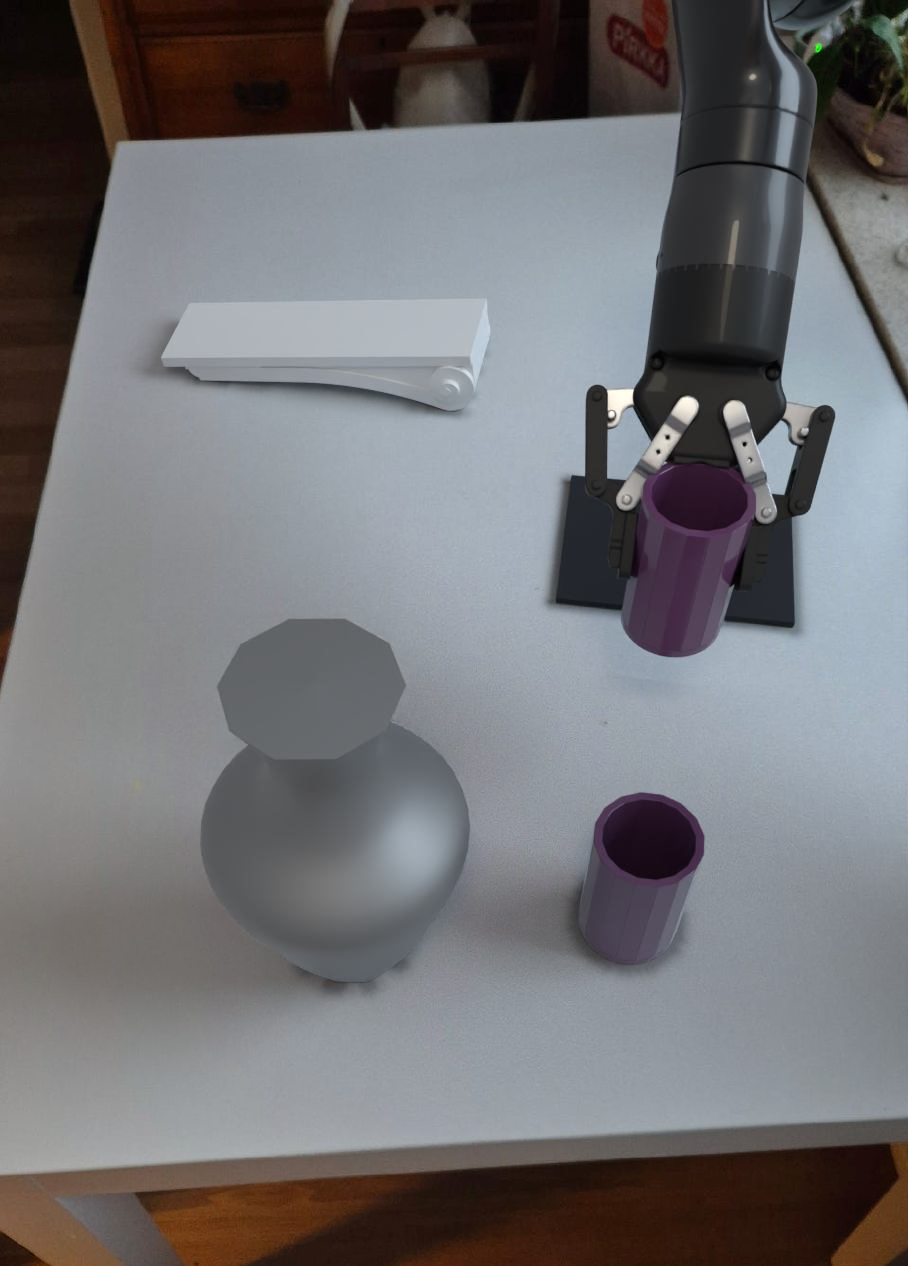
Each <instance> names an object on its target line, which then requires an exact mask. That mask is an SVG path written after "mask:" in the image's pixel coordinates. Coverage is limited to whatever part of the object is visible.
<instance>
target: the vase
mask: <svg viewBox="0 0 908 1266" xmlns="http://www.w3.org/2000/svg"><path fill="white" fill-rule="evenodd" d="M406 687H407V684H406V682H405V679H404V677H403V674H402V672H401V669H400V667H399V663H398V661H397V659H396V657H395V653H394V651H393V649H392V647H391V644H390V643H389V642H388V641H387V640H384V639H383V638H381V637H379V636H377V635H376V634H374V633H371V632H370V631H368V630H366V629H365V628H362V627H361V626H360V625H358V624H356V623H354V622H352V621H350V620H348V619H347V618H288V619H286V620H284V621H282V622H280V623H278V624H276V625H274V626H273V627H270V628H269V629H267V630H265V631H263V632H260V633H259V634H256V635H255V636H253V637H251V638H250V639H247V640H245V641H244V642H242V643H240V644H239V646H238V648H237V649H236V651H235V653H234V655H233V657H232V658H231V660H230V662H229V664H228V666H227V667H226V669H225V671H224V673H223V675H222V676H221V678H220V680H219V682H218V683H217V686H216V688H217V689H216V690H217V692H218V696H219V699H220V703H221V706H222V707H221V708H222V711H223V713H224V714H223V715H224V719H225V721H226V725H227V728H228V732H230V733H231V734H233V735H234V736H235V737H236V738H238V739H239V740H240V741H242V742H243V743H244V744H246V746H245V747H244V748H242V749H240V751H239V752H237V753H236V755H234V757H232V759H231V760H230V761H229V762H228V764H227V765H226V766H225V767H224V769H222V771H221V772H220V775H218V777H217V779H216V780H215V782H214V784H213V785H212V787H211V789H210V791H209V794H208V797H207V799H206V801H205V803H204V808H203V812H202V817H201V819H200V837H199V838H200V840H199V848H200V853H201V861H202V862H201V863H202V865H203V868H204V871H205V874H206V876H207V879H208V883H209V885H210V888H212V890H213V892H214V894H215V896H216V898H217V899H218V902H219V903H220V904H221V906H222V907H223V908H224V910H226V911H227V913H229V915H230V916H231V918H233V919H234V921H236V923H237V924H238V925H239V926H240V927H242V928H243V929H244V930H245V931H246V932H248V933H249V934H250V935H251V936H253V938H255V939H256V940H257V941H259V942H260V943H261V944H263V945H264V946H265V947H267V948H269V949H270V950H271V951H273V952H274V953H276V954H277V955H279V956H280V957H282V958H283V959H284V960H287V961H288V962H290V963H291V964H293V965H295V966H297V967H298V968H301V970H304V971H306V972H308V973H311V974H313V975H315V976H319V977H320V978H323V979H328V980H331V981H332V982H334V983H369V982H371V981H373V980H374V979H376V978H377V977H379V976H380V975H382V974H383V973H385V972H387V971H389V970H391V968H393V967H394V966H395V965H397V964H398V963H399V962H401V961H402V960H403V959H405V957H406V956H407V955H408V954H410V952H411V951H412V950H413V949H414V948H415V947H417V945H418V944H419V943H420V942H421V940H422V939H423V938H424V937H425V935H426V934H427V932H428V930H429V929H430V927H431V926H432V925H433V923H434V922H435V921H436V919H437V918H438V916H439V915H440V913H441V911H442V910H443V908H444V907H445V906H446V904H447V903H448V901H449V900H450V898H451V896H452V895H453V892H454V890H455V888H456V886H457V884H458V882H459V880H460V877H461V875H462V873H463V870H464V867H465V863H466V860H467V855H468V852H469V848H470V847H469V844H470V834H471V833H470V832H471V822H470V813H469V807H468V803H467V799H466V797H465V793H464V790H463V788H462V785H461V783H460V781H459V779H458V778H457V775H456V773H455V772H454V770H453V769H452V767H451V766H450V764H449V763H448V761H446V759H445V757H444V756H443V755H442V754H441V753H440V752H439V751H438V750H436V749H435V748H434V747H433V746H432V745H431V744H430V743H428V742H427V741H426V740H425V739H423V738H421V737H420V736H418V734H416V733H414V732H413V731H412V730H409V729H407V728H405V727H404V726H401V725H399V724H397V723H395V722H393V721H392V718H393V716H394V714H395V712H396V710H397V707H398V705H399V703H400V701H401V698H402V696H403V693H404V692H405V689H406Z"/></svg>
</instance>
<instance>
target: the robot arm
mask: <svg viewBox="0 0 908 1266" xmlns="http://www.w3.org/2000/svg"><path fill="white" fill-rule="evenodd" d="M856 1H857V0H671V10H672V20H673V27H674V35H675V46H676V57H677V67H678V74H679V79H680V88H681V98H682V104H681V113H680V119H679V120H680V121H679V130H678V135H677V136H678V137H677V143H676V150H675V151H676V152H675V159H674V168H673V175H672V183H671V189H670V194H669V197H668V198H669V199H668V203H667V206H666V209H665V214H664V217H663V222H662V228H661V234H660V242H659V250H658V252H657V255H656V258H655V270H656V273H655V281H654V282H655V283H654V290H653V298H652V305H651V314H650V322H649V329H648V337H647V338H648V339H647V346H646V352H645V362H644V363H645V364H644V368H643V373H642V375H641V377H640V378H639V380H638V381H637V383H636V384H635V386H634V387H631V388H630V387H629V388H627V387H625V388H606V387H605V386H604V385H602V384H594V385H592V386H590V387H589V388H588V389H587V391H586V394H585V406H584V407H585V409H584V410H585V411H584V412H585V417H584V418H585V421H584V423H585V424H584V426H585V427H584V428H585V429H584V444H585V445H584V459H585V460H584V476H585V491H586V493H587V495H588V496H590V497H592V498H595V499H597V500H599V501H601V502H603V503H605V504H607V505H608V506H609V507H610V509H611V511H612V515H613V518H612V526H611V534H610V542H609V550H608V562H609V566H610V567H612V568H618V573H617V579H625V580H630V578H631V571H632V563H633V555H634V548H635V540H636V530H637V522H638V514H636V513H635V512H636V504H637V503H638V501H639V500H640V498H641V494H642V489H643V484H644V482H645V481H646V480H647V478H648V477H649V475H650V474H652V475H654V476H656V474H657V473H658V471H659V470H660V468H661V467H662V465H664V464H665V463H668V462H670V461H671V462H673V463H676V464H693V463H699V462H702V463H705V464H708V465H710V466H713V467H720V468H729V467H731V468H733V469H735V470H736V471H737V472H738V473H740V474H741V476H742V478H743V480H744V482H745V484H750V485H751V487H752V488H753V490H754V492H755V493H756V512H755V515H754V519H753V522H752V526H751V529H750V532H749V536H748V539H747V543H746V546H745V549H744V553H743V556H742V560H741V563H740V566H739V570H738V573H737V577H736V580H735V583H734V591H741V592H750V591H751V588H752V583H753V582H759V583H760V582H761V581H762V579H763V577H764V575H765V573H766V566H767V559H768V553H769V546H770V540H771V533H772V529H773V527H774V525H775V524H776V523H777V522H779V521H781V520H783V519H787V518H791V517H792V518H794V517H800V516H804V515H806V514H808V512H809V511H810V510H811V507H812V504H813V500H814V498H815V494H816V490H817V486H818V482H819V480H820V479H819V478H820V476H821V475H820V474H821V472H822V469H823V465H824V462H825V461H824V460H825V457H826V454H827V450H828V446H829V442H830V439H831V435H832V431H833V428H834V424H835V420H836V411H835V409H834V408H833V407H832V406H830V405H827V404H822V405H820V406H810V405H807V404H800V403H796V402H792V401H787V397H786V394H785V392H784V389H783V383H782V374H783V368H784V361H785V356H786V355H785V354H786V349H787V341H788V334H789V328H790V321H791V315H792V309H793V303H794V294H795V289H796V282H797V274H798V269H799V261H800V254H801V248H802V247H801V246H802V241H803V232H804V201H805V190H806V189H805V188H806V181H807V175H808V168H809V162H810V155H811V148H812V142H813V136H814V135H813V133H814V128H815V121H816V113H817V103H818V85H817V81H816V78H815V75H814V73H813V72H812V70H811V69H810V67H809V66H808V64H807V63H805V62H804V61H803V60H802V58H801V57H799V56H798V55H797V54H796V53H795V52H794V51H793V50H791V49H790V48H789V46H787V45H786V44H785V43H784V41H783V40H782V38H781V37H780V35H779V33H778V32H777V30H776V28H777V29H780V30H786V31H803V30H808V29H809V30H810V29H813V28H816V27H819V26H821V25H825V24H826V23H828V22H831V21H833V20H834V19H836V18H837V17H839V16H841V15H842V14H843V13H844V12H846V11H847V10H848V9H849V8H850V7H851V6H853V5H854V3H855V2H856ZM630 408H633V411H634V413H635V415H636V416H637V418H638V420H639V422H640V424H641V426H642V427H643V430H644V431H645V433H646V435H647V437H648V439H649V441H650V443H649V445H648V446H647V448H646V450H645V451H644V452H643V454H642V456H641V457H640V459H639V460H638V462H637V463H636V465H635V466H634V467H633V469H632V471H631V472H630V474H629V475H628V477H627V478H626V479H625V480H626V482H625V483H624V485H623V486H622V485H620V484H618V483H616V482H614V481H612V480H610V479H611V478H609V479H607V478H608V449H609V448H608V447H609V446H608V445H609V441H608V440H609V438H608V437H609V435H608V434H609V430H613V429H616V428H617V427H618V426H619V425H620V424H621V421H622V417H623V413H624V412H625V411H626V410H628V409H630ZM780 422H783V423H784V424H785V426H787V431H788V432H787V439H788V441H789V443H790V444H791V445H793V446H795V447H796V449H795V452H794V457H793V459H792V460H793V461H792V464H791V468H790V471H789V475H788V478H787V481H786V486H785V490H784V493H783V495H784V497H782V498H778V499H774V500H773V497H772V494H773V493H772V491H771V488H770V485H769V482H768V476H767V471H766V468H765V465H764V462H763V459H762V455H761V453H760V450H759V447H758V446H759V445H760V444H761V443H762V442H763V440H764V439H766V437H767V436H769V434H770V433H771V432H772V430H774V428H775V427H777V425H778V424H779V423H780Z"/></svg>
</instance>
